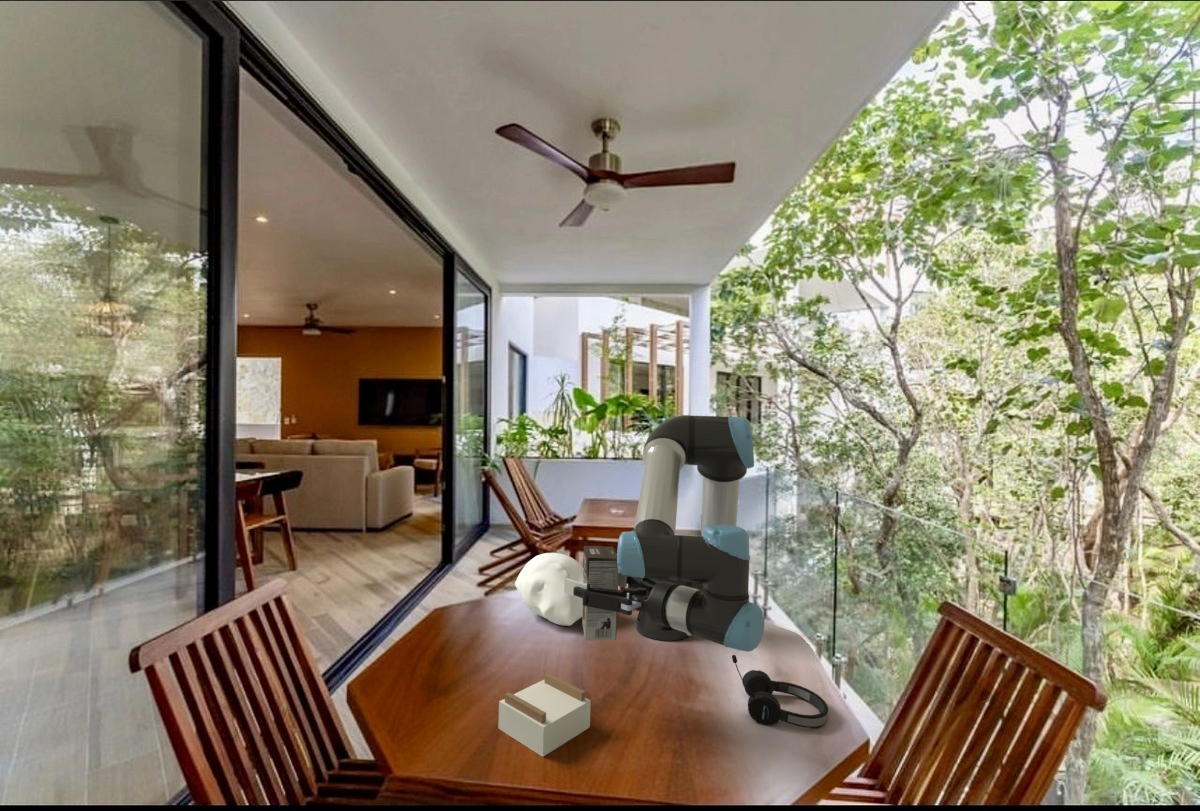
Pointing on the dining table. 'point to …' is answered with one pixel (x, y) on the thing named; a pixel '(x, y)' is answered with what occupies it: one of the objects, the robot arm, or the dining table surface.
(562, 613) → the head sculpture
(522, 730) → the plinth
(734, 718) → the dining table surface
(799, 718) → the headset
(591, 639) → the coffee box
